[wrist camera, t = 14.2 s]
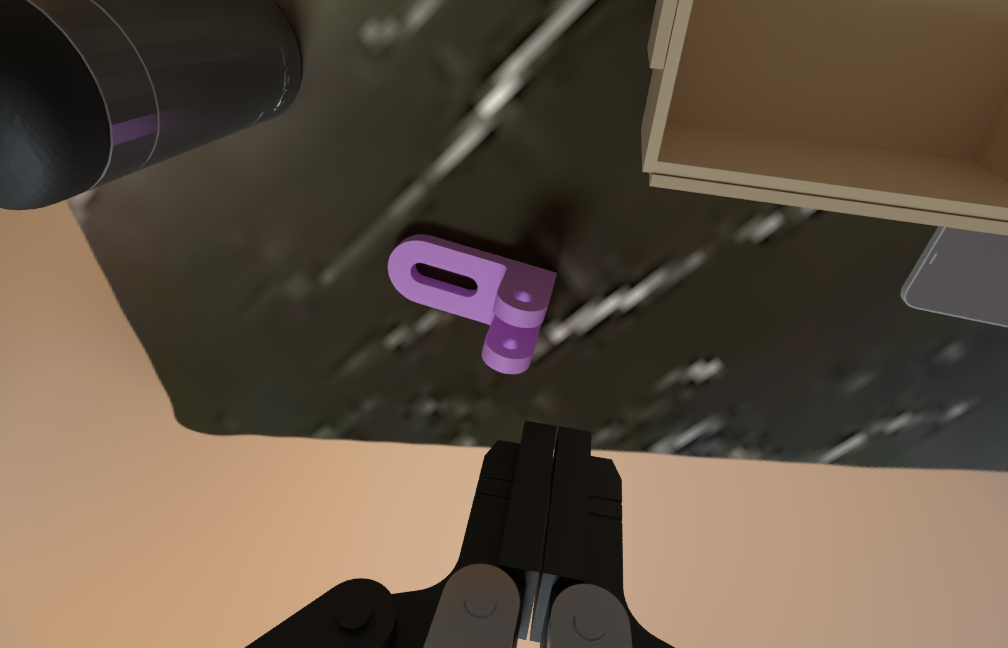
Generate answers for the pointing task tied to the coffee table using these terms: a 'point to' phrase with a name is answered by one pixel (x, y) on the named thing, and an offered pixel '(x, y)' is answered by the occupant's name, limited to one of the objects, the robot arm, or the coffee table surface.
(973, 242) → the smartphone
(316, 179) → the coffee table surface
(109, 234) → the coffee table surface
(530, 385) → the coffee table surface
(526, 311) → the bracket
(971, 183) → the carton
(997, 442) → the coffee table surface
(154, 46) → the robot arm
